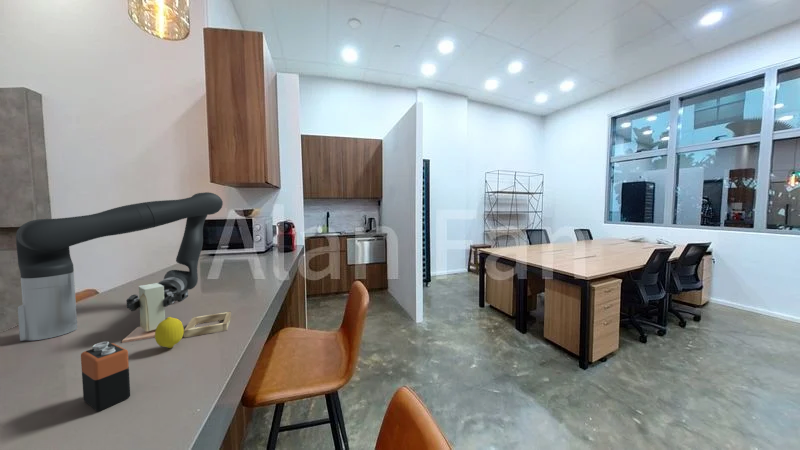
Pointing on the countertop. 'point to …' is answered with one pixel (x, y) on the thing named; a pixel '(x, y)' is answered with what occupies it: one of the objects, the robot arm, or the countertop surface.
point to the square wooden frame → (192, 331)
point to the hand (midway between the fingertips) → (149, 305)
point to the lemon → (169, 332)
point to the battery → (105, 375)
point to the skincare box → (151, 306)
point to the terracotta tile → (139, 335)
